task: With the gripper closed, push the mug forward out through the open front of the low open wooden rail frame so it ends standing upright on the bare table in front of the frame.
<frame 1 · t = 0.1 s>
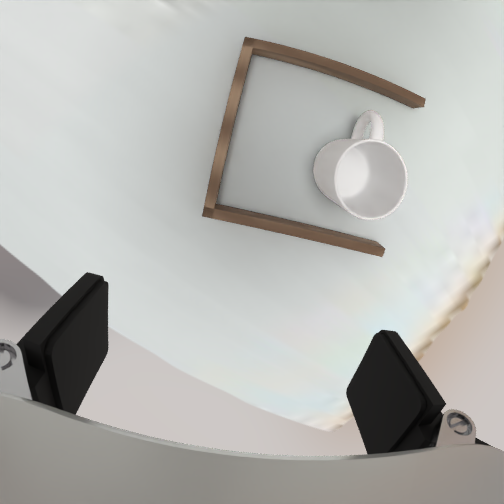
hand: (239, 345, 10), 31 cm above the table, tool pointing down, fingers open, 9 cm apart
mug: (345, 156, 38), on the table
open wooden rail frame: (317, 147, 37), on the table
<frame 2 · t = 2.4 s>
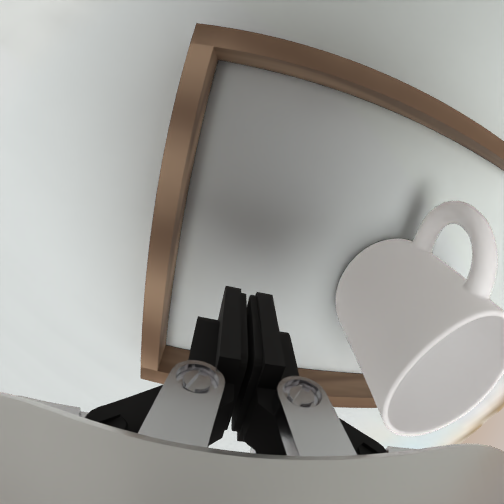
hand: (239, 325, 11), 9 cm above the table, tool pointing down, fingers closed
mug: (393, 264, 21), on the table
open wooden rail frame: (346, 254, 20), on the table
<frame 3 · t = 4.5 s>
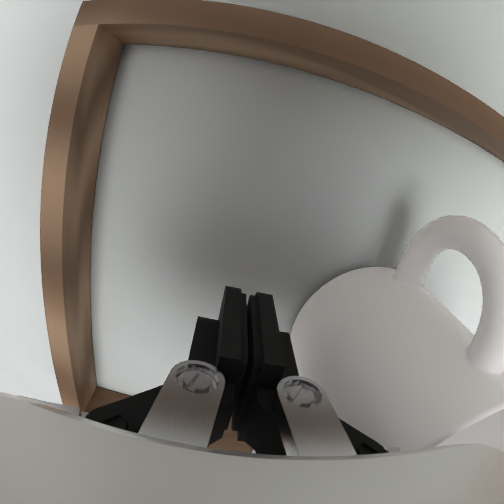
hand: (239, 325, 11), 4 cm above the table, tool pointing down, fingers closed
mug: (370, 299, 16), on the table, touching gripper
open wooden rail frame: (302, 288, 15), on the table
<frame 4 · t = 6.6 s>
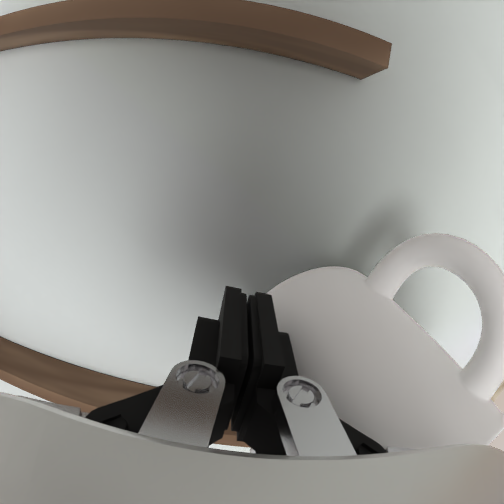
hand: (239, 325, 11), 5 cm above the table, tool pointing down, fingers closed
mug: (323, 299, 15), point 1 cm above the table, touching gripper
open wooden rail frame: (86, 229, 15), on the table
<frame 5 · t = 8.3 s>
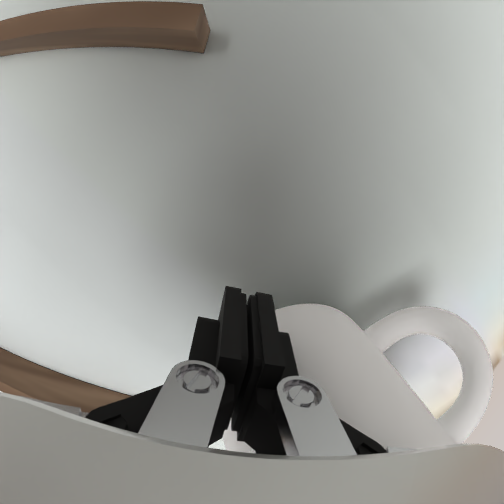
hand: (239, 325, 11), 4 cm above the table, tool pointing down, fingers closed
mug: (313, 339, 16), point 1 cm above the table, touching gripper
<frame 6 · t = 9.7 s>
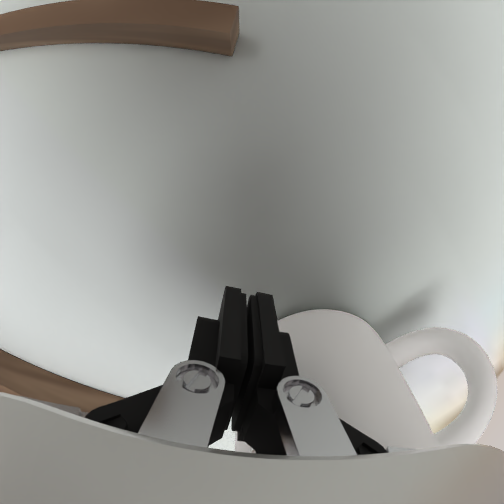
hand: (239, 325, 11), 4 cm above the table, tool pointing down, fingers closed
mug: (339, 348, 16), on the table, touching gripper
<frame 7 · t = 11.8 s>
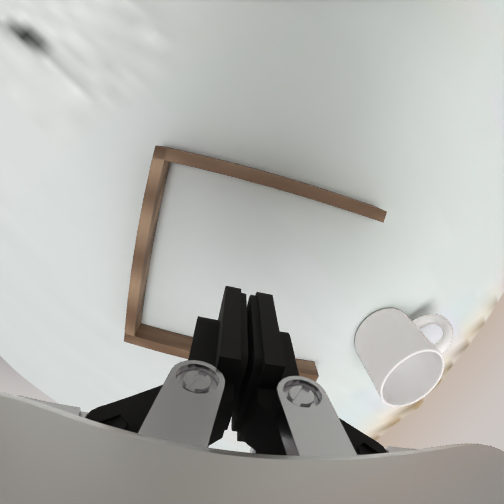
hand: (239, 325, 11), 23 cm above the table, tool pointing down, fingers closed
mug: (392, 325, 38), on the table
open wooden rail frame: (245, 272, 35), on the table
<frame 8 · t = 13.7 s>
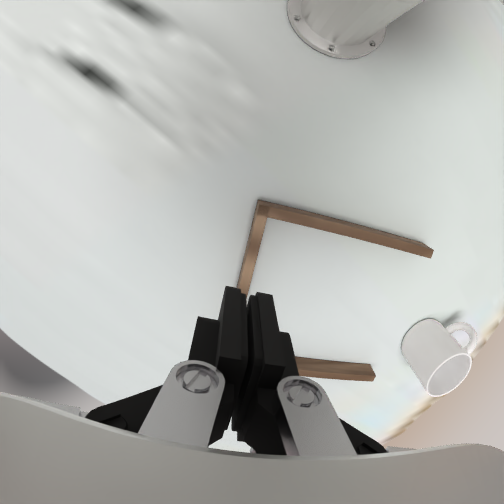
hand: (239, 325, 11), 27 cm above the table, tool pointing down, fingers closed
mug: (429, 331, 45), on the table
open wooden rail frame: (324, 300, 42), on the table
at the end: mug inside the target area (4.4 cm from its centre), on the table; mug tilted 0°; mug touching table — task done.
